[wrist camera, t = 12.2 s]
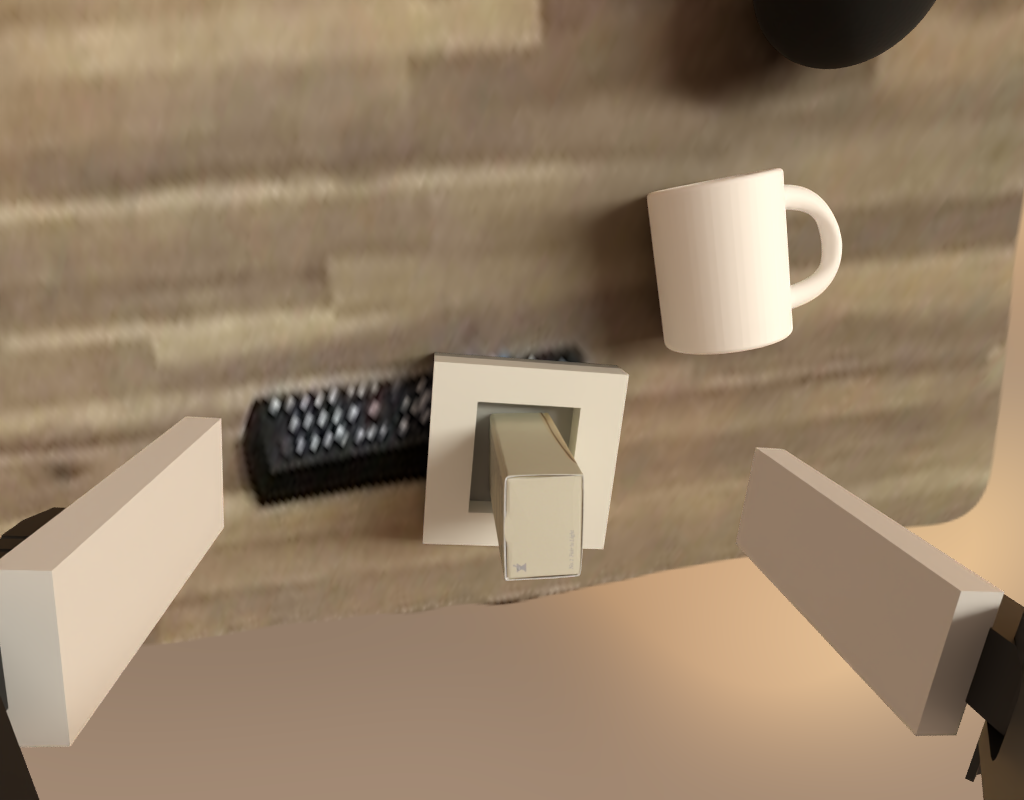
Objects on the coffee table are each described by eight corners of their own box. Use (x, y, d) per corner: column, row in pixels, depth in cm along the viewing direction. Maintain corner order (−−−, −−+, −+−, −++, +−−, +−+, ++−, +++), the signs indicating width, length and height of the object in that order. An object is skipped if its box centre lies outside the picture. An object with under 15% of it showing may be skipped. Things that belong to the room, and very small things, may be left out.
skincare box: (546, 490, 46) (584, 581, 34) (486, 493, 45) (503, 585, 34) (548, 408, 44) (588, 474, 33) (486, 409, 44) (503, 477, 32)
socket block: (423, 524, 47) (422, 543, 44) (434, 352, 43) (434, 361, 40) (593, 529, 48) (603, 549, 46) (616, 365, 45) (628, 375, 42)
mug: (649, 339, 45) (692, 363, 37) (630, 196, 42) (673, 189, 34) (807, 305, 46) (882, 322, 38) (800, 162, 43) (878, 148, 35)
